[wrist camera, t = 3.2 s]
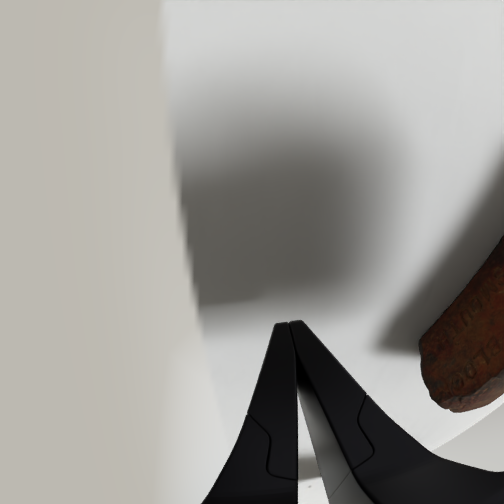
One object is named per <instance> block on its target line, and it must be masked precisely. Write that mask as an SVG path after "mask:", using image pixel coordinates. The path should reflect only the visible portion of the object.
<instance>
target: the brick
mask: <svg viewBox="0 0 504 504" xmlns="http://www.w3.org/2000/svg"><path fill="white" fill-rule="evenodd" d="M419 350H420V354H421V364H420V366H421V375H422V378H423V381H424V383H425V385H426V387H427V389H428V390H429V394H430V397H431V399H432V400H433V401H435V402H436V403H437V404H438V405H439V406H440V407H442V408H444V409H449V410H450V411H452V412H453V413H461V412H465V411H470V410H473V409H477V408H480V407H483V406H486V405H488V404H490V403H491V402H493V401H494V400H495V399H497V398H498V397H500V396H501V395H502V394H503V393H504V236H503V237H502V238H501V240H500V242H499V244H498V245H497V247H496V248H495V249H494V251H493V252H492V253H491V255H490V256H489V258H488V259H487V261H486V262H485V263H484V265H483V266H482V267H481V269H480V270H479V271H478V273H477V274H476V275H475V276H474V277H473V279H472V280H471V281H470V282H469V284H468V285H467V286H466V288H465V289H464V290H463V291H462V293H461V294H460V295H459V296H458V298H457V299H456V300H455V301H454V302H453V303H452V305H451V306H450V307H449V308H448V309H447V310H446V311H445V313H444V314H443V315H442V316H441V317H440V318H439V319H438V320H437V321H436V323H435V324H434V325H433V326H432V327H431V328H430V329H429V330H428V331H427V332H426V333H425V334H424V336H423V337H422V338H421V339H420V340H419Z"/></svg>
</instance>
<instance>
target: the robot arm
mask: <svg viewBox="0 0 504 504" xmlns="http://www.w3.org/2000/svg"><path fill="white" fill-rule="evenodd" d="M297 393H298V396H299V400H300V403H301V407H302V410H303V413H304V417H305V420H306V424H307V427H308V431H309V434H310V438H311V441H312V445H313V448H314V452H315V455H316V459H317V462H318V466H319V469H320V473H321V476H322V480H323V483H324V487H325V490H326V494H327V497H328V499H329V500H328V501H329V504H504V471H503V472H492V471H487V470H483V469H479V468H475V467H471V466H468V465H464V464H461V463H457V462H454V461H450V460H447V459H444V458H441V457H439V456H437V455H435V454H433V453H432V452H430V451H429V450H427V449H426V448H425V447H424V446H422V445H421V444H420V443H419V442H418V441H416V440H415V439H414V438H413V437H412V436H411V435H409V434H408V433H407V432H406V431H405V430H403V429H402V428H401V427H400V426H399V425H398V424H396V423H395V422H394V421H393V420H392V419H391V418H390V417H389V416H388V415H387V414H386V413H385V412H384V411H383V410H382V409H381V408H380V407H379V406H378V405H377V404H376V403H375V402H374V401H373V400H372V398H371V397H370V396H369V395H366V394H367V393H366V392H365V391H364V390H363V388H362V387H361V386H360V385H359V384H358V383H357V382H356V381H355V379H354V378H353V377H352V376H351V375H350V374H349V373H348V371H347V370H346V369H345V368H344V367H343V366H342V365H341V364H340V362H339V361H338V360H337V359H336V358H335V357H334V356H333V354H332V353H331V352H330V351H329V350H328V349H327V348H326V347H325V345H324V344H323V343H322V342H321V341H320V340H319V339H318V337H317V336H316V335H315V334H314V333H313V332H312V331H311V329H310V328H309V327H308V326H307V325H306V324H305V323H304V322H303V321H302V320H296V321H290V322H289V323H288V322H281V323H276V324H275V325H274V328H273V331H272V335H271V338H270V341H269V345H268V348H267V351H266V355H265V358H264V361H263V364H262V368H261V371H260V374H259V377H258V380H257V384H256V387H255V390H254V393H253V396H252V399H251V402H250V405H249V408H248V411H247V415H246V417H245V420H244V423H243V426H242V428H241V431H240V434H239V436H238V439H237V441H236V443H235V446H234V448H233V450H232V452H231V454H230V456H229V458H228V460H227V462H226V463H225V465H224V467H223V469H222V471H221V473H220V474H219V476H218V478H217V480H216V482H215V483H214V485H213V487H212V489H211V490H210V492H209V494H208V495H207V496H206V498H205V499H204V501H203V502H202V503H201V504H298V401H297Z"/></svg>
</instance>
